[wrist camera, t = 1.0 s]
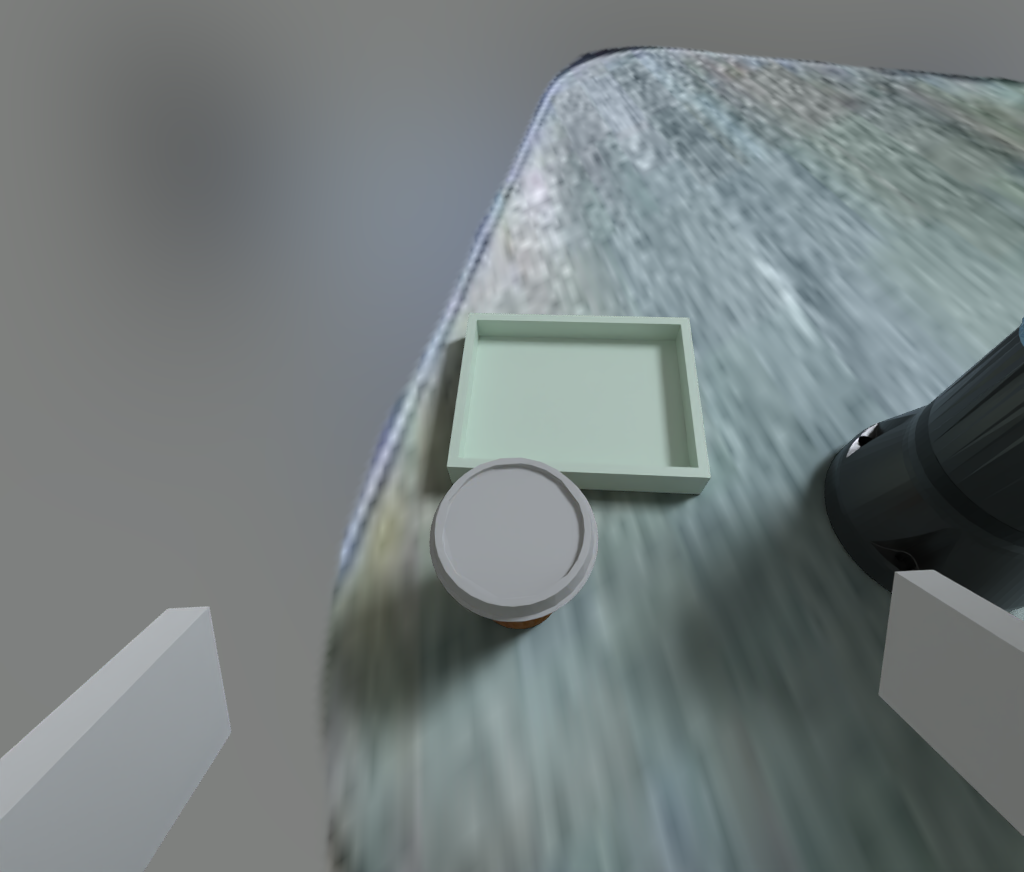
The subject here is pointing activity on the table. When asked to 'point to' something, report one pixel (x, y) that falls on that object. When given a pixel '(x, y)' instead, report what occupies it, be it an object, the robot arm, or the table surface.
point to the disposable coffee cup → (513, 541)
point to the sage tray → (583, 400)
